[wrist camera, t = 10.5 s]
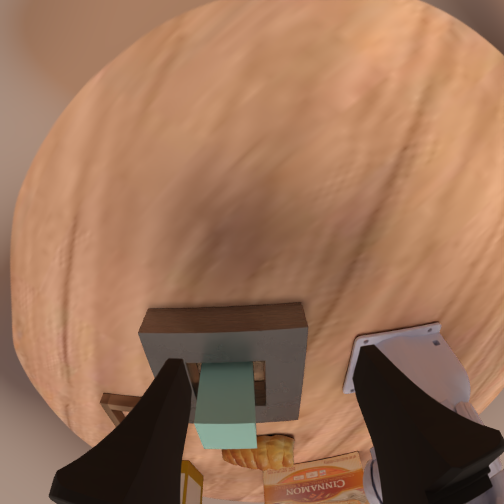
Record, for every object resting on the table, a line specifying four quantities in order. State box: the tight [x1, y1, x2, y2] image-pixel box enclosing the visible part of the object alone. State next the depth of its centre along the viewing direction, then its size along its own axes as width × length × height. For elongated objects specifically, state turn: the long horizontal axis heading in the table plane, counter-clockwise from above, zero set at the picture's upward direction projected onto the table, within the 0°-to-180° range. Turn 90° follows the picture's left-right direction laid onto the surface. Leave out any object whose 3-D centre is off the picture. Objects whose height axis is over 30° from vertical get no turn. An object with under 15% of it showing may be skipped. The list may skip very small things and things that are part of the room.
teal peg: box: [194, 361, 257, 449], centre depth 21 cm, size 4×4×8 cm
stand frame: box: [100, 393, 141, 427], centre depth 28 cm, size 8×8×2 cm
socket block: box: [138, 303, 308, 423], centre depth 24 cm, size 12×12×3 cm
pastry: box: [222, 435, 295, 471], centre depth 31 cm, size 9×7×4 cm
